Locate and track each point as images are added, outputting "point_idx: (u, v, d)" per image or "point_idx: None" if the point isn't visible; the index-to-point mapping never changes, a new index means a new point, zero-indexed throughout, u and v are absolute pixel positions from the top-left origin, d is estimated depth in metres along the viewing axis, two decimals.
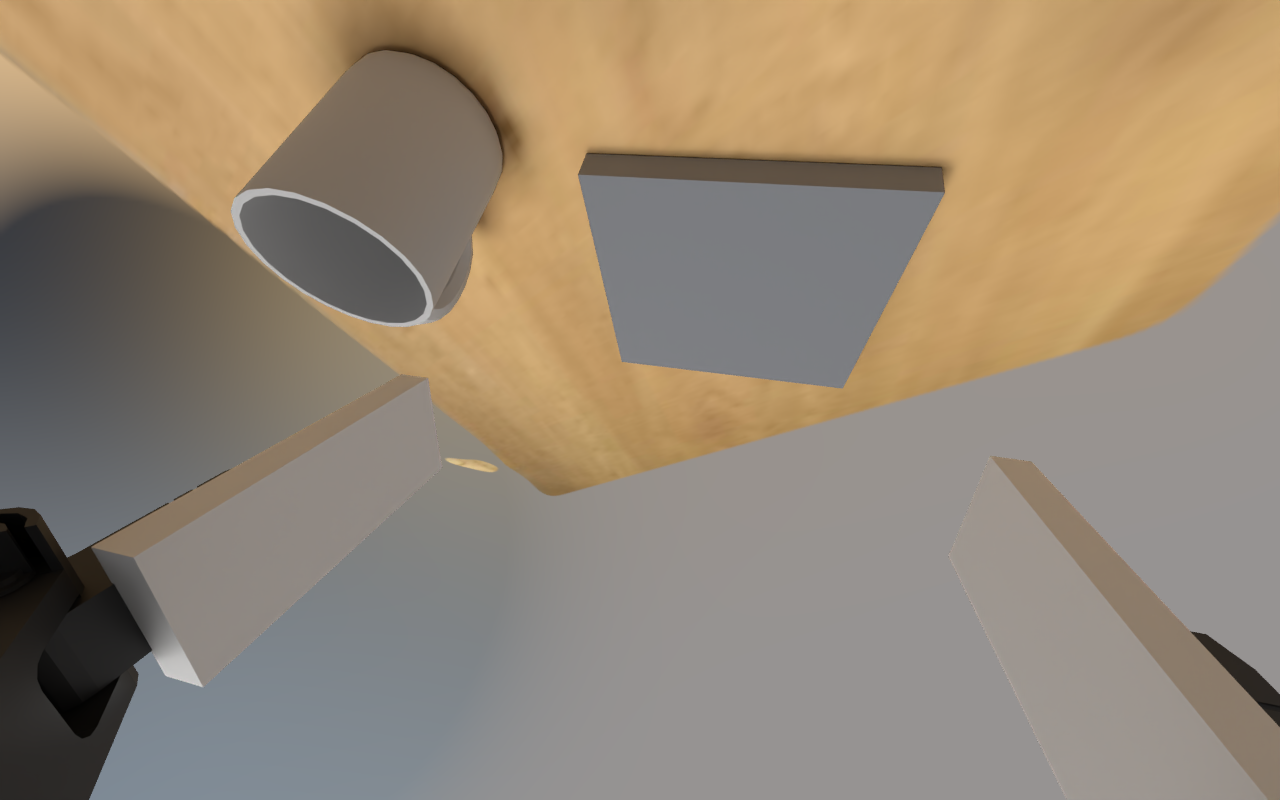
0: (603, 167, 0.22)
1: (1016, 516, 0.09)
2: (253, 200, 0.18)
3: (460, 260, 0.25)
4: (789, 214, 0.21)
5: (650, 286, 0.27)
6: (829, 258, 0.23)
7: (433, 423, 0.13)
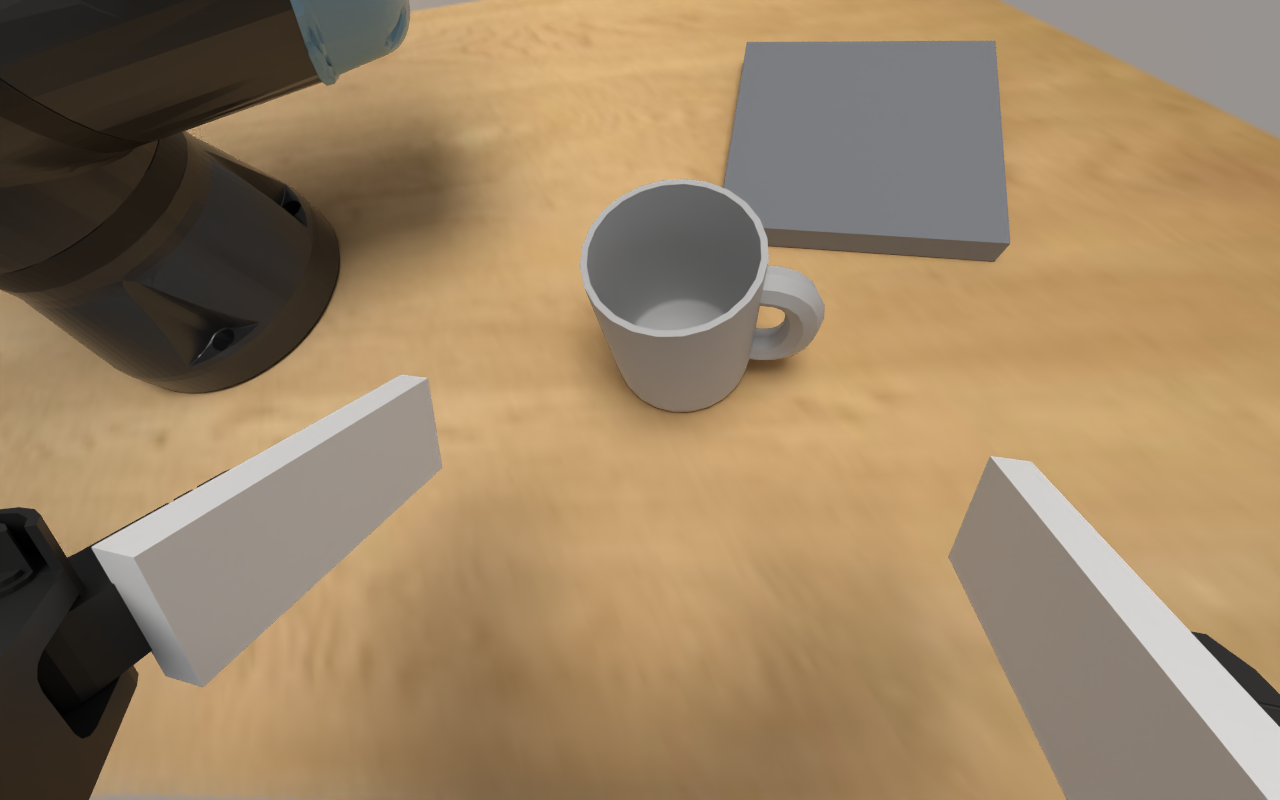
0: None
1: (1017, 516, 0.09)
2: None
3: None
4: (760, 104, 0.30)
5: (845, 192, 0.27)
6: (802, 79, 0.31)
7: (433, 423, 0.13)
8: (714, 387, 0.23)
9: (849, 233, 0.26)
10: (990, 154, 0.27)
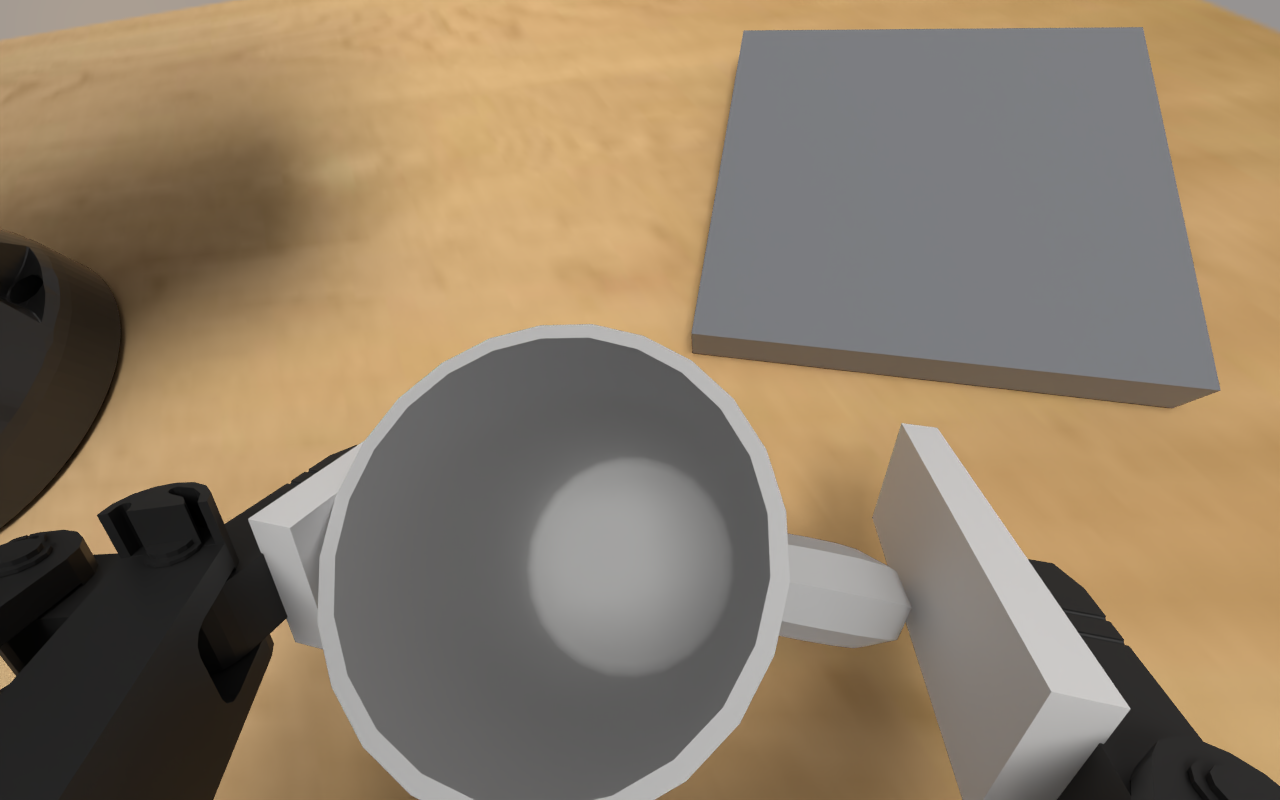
0: None
1: (915, 472, 0.10)
2: (386, 668, 0.08)
3: None
4: (764, 127, 0.19)
5: (909, 281, 0.16)
6: (830, 88, 0.19)
7: None
8: None
9: (919, 358, 0.15)
10: (1159, 219, 0.16)
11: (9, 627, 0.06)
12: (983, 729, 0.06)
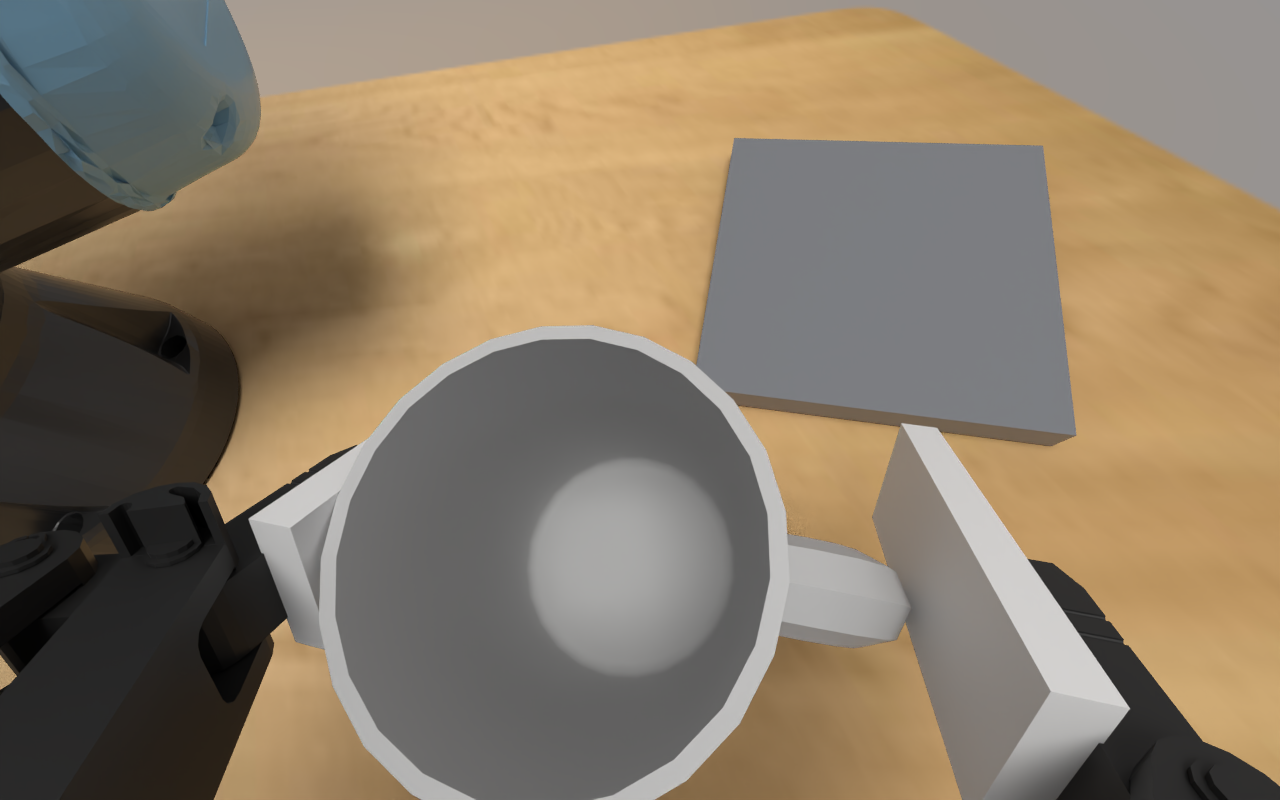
0: None
1: (915, 472, 0.10)
2: (387, 668, 0.08)
3: None
4: (749, 221, 0.25)
5: (856, 349, 0.21)
6: (801, 189, 0.25)
7: None
8: None
9: (862, 408, 0.20)
10: (1043, 303, 0.21)
11: (9, 627, 0.06)
12: (983, 729, 0.06)
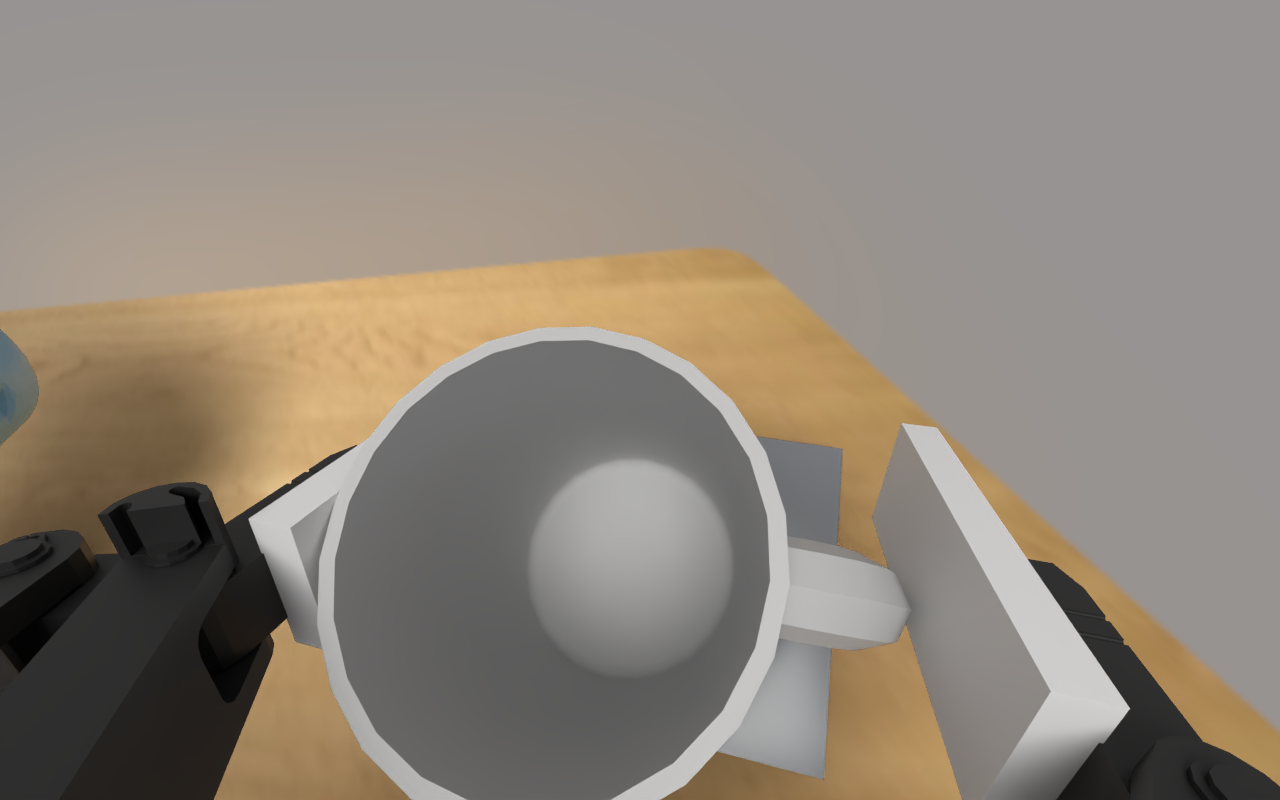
0: None
1: (915, 472, 0.10)
2: (386, 670, 0.08)
3: None
4: None
5: None
6: None
7: None
8: None
9: None
10: None
11: (10, 627, 0.06)
12: (983, 729, 0.06)
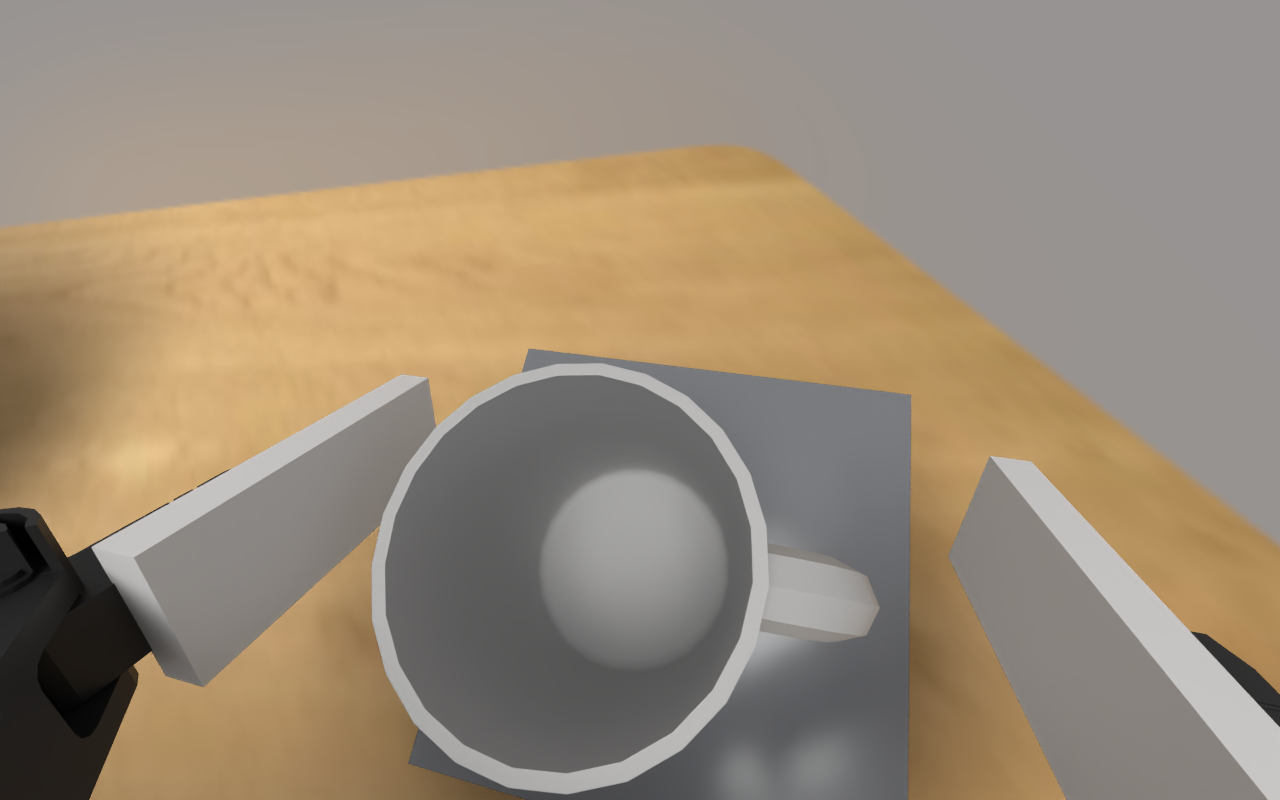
0: None
1: (1016, 515, 0.09)
2: (428, 659, 0.09)
3: None
4: None
5: None
6: None
7: (433, 423, 0.13)
8: None
9: None
10: (885, 664, 0.15)
11: None
12: None
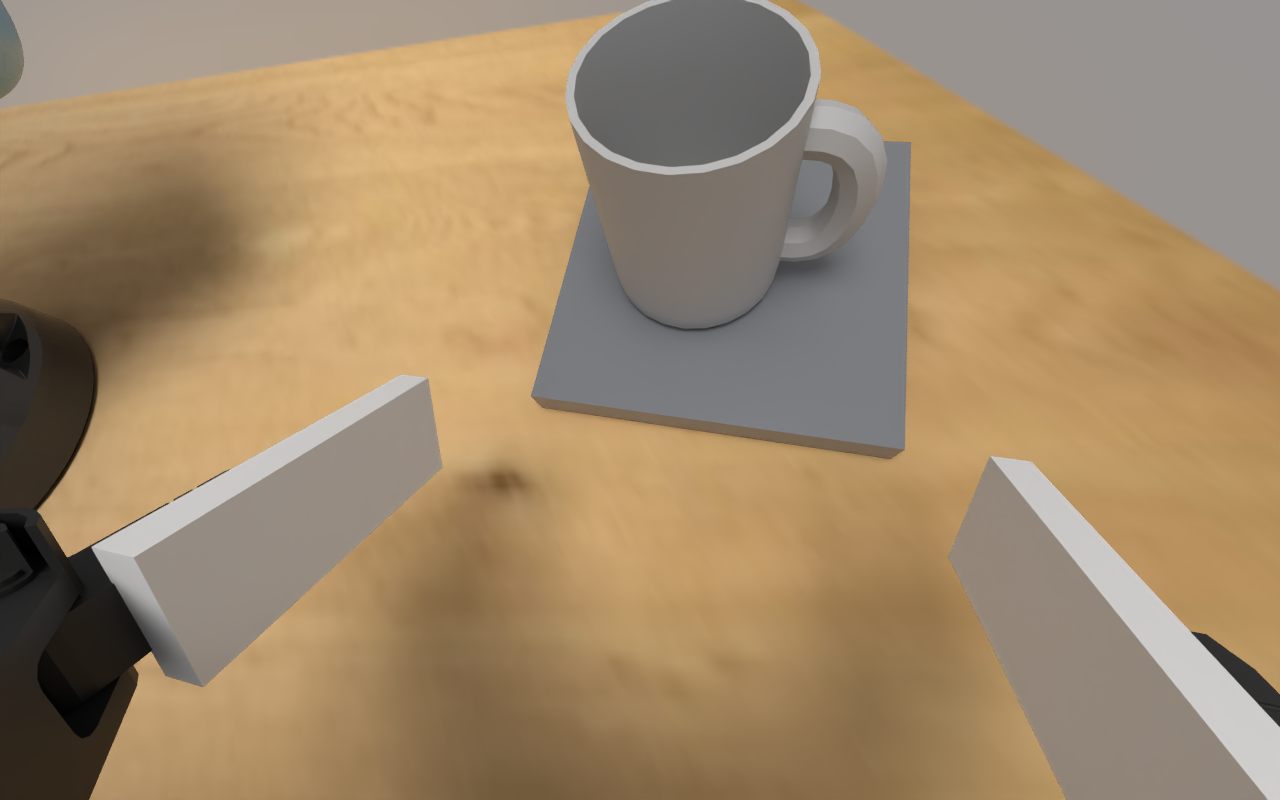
0: None
1: (1016, 516, 0.09)
2: None
3: None
4: None
5: (698, 357, 0.20)
6: None
7: (433, 423, 0.13)
8: (738, 287, 0.18)
9: (695, 419, 0.20)
10: (890, 309, 0.20)
11: None
12: None
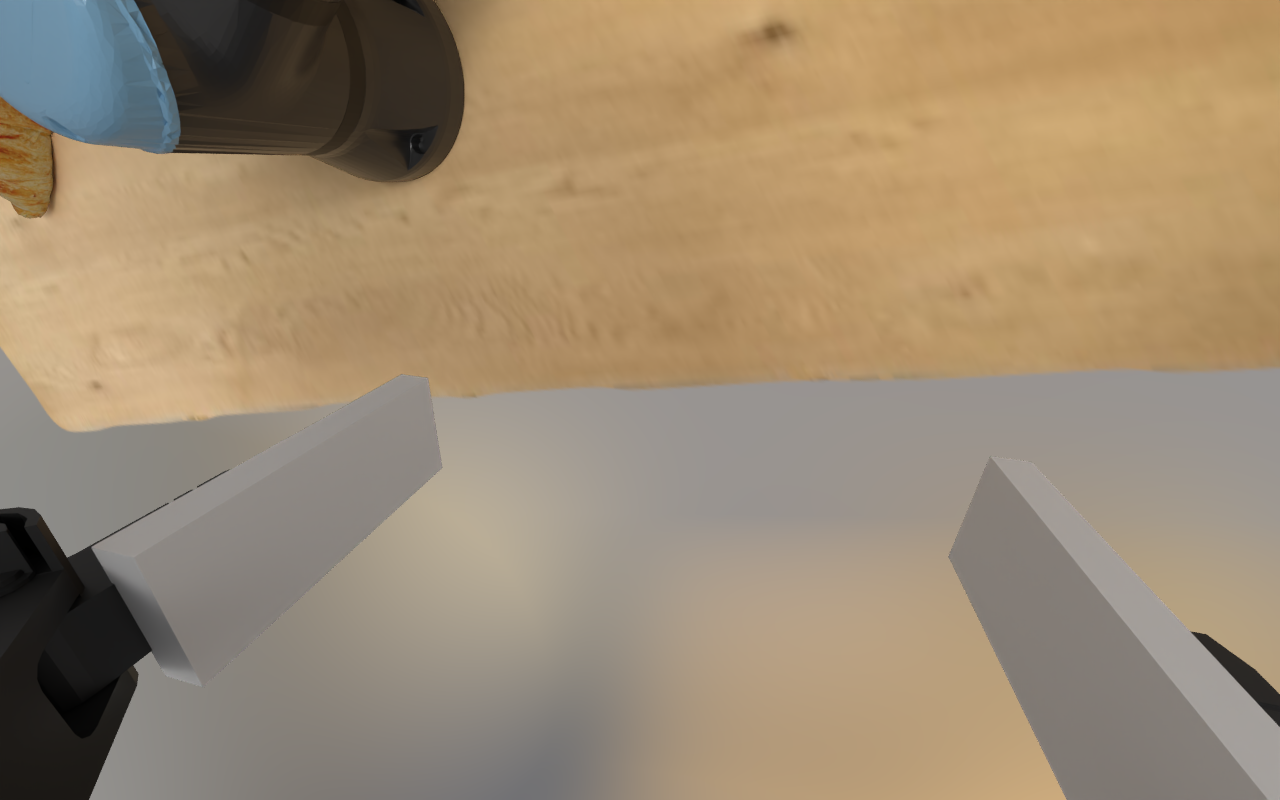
0: None
1: (1017, 516, 0.09)
2: None
3: None
4: None
5: None
6: None
7: (433, 423, 0.13)
8: None
9: None
10: None
11: None
12: None
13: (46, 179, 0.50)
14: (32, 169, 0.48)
